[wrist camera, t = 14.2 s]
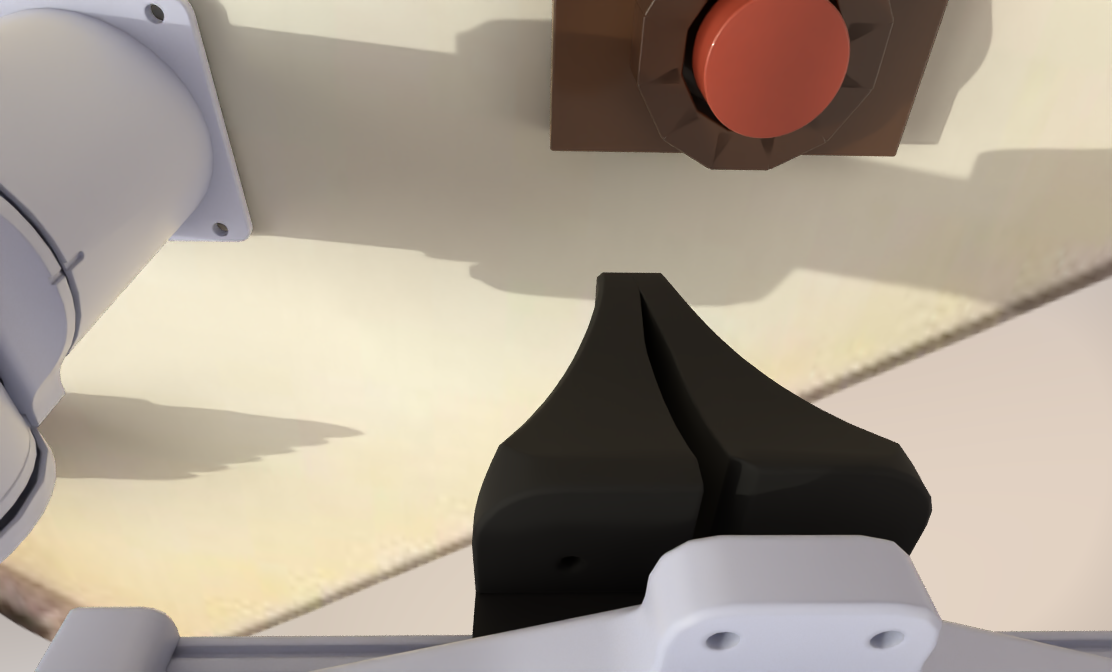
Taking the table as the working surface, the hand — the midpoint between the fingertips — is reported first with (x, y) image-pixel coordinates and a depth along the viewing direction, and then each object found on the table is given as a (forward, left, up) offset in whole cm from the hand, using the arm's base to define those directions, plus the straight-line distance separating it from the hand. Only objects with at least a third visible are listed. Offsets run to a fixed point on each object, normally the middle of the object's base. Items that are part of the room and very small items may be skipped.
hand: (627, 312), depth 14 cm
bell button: (+4, +3, -7) cm, 9 cm away
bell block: (+4, +4, -10) cm, 12 cm away
